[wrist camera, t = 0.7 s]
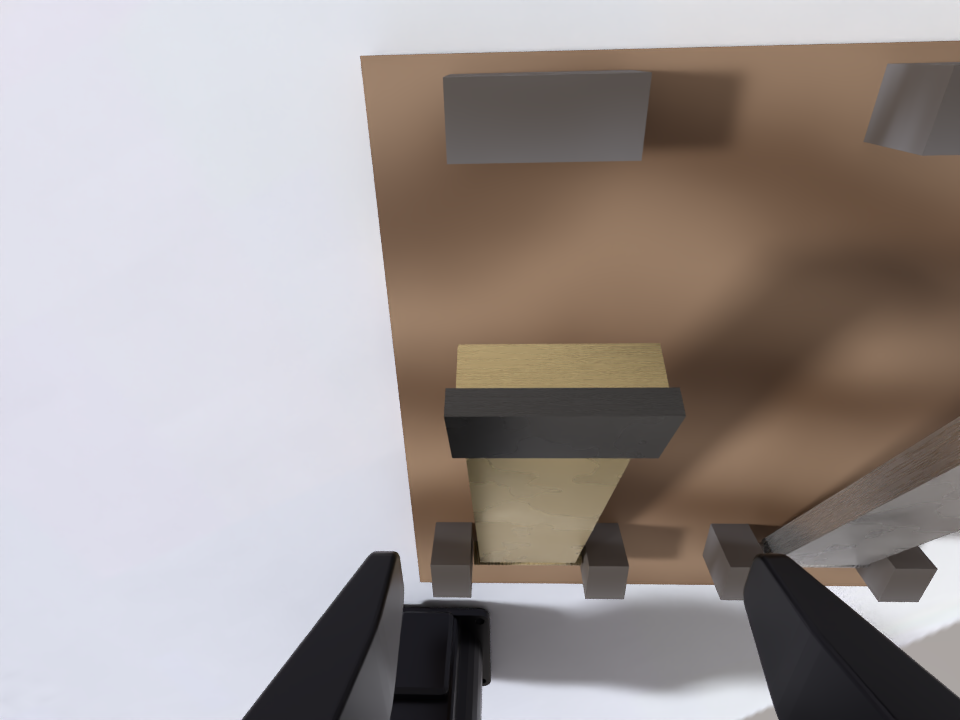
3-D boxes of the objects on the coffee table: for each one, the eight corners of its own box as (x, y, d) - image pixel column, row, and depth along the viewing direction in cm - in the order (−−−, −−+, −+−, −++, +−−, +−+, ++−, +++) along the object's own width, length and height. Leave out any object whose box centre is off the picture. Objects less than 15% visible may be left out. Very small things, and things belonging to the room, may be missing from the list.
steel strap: (851, 546, 24) (865, 584, 23) (745, 545, 24) (754, 584, 23) (1316, 338, 10) (1392, 415, 9) (1064, 340, 10) (1116, 415, 9)
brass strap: (577, 544, 24) (580, 582, 23) (474, 543, 24) (474, 581, 23) (675, 342, 11) (691, 416, 10) (442, 345, 11) (438, 416, 10)
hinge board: (870, 560, 26) (927, 636, 23) (424, 556, 27) (413, 630, 24) (1126, 37, 16) (1309, 31, 12) (371, 55, 16) (337, 56, 13)
